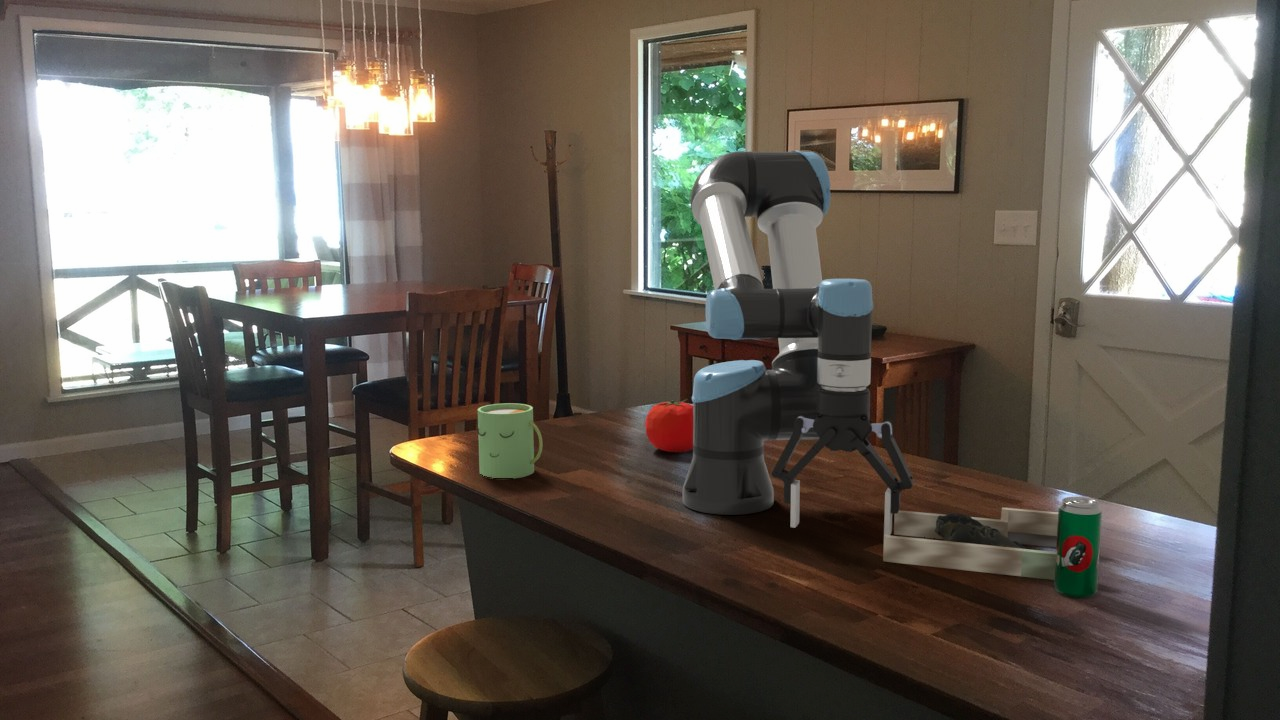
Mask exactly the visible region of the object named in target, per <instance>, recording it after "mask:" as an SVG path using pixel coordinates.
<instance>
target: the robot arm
mask: <svg viewBox="0 0 1280 720" xmlns="http://www.w3.org/2000/svg"><path fill="white" fill-rule="evenodd" d="M691 189H692V190H691V192H690V209H691V213H692V215H693V216H692V217H693V218H694V220H695V222H697V223H698V225H700V227H701V232H702V237H703V242H704V247H705V250H706V256H707V260H708V266H709V269H710V270H709V271H710V274H711V278H712V282H713V289H711V290H710V291H708V292H707V295H706V299H705V324H706V326H705V327H706V331H707V333H708V335H709V337H711V338H713V339H720V340H721V339H725V340H726V339H727V340H729V339H730V340H733V341H737V340H752V339H753V340H755V339H756V340H760V339H762V340H763V339H778V348H779V353H778V354H777V355H776V356H775V357H774V359H773V360H772V361H771V369H767V368H766V366H765V363H764V362H763V361H761V360H755V359H749V360H748V359H747V360H744V359H739V360H732V361H725V362H719V363H718V362H717V363H714V364H711V365H707V366H704V367H703V368H701V369H699V370H698V371H697V372H696V373H695V375H694V378H693V386H692V387H693V388H692V396H691V401H692V402H693V403H692V405H693V449H692V458H691V462H690V463H689V464H690V465H689V468H688V471H687V475H686V477H685V479H684V480H685V481H684V483H683V487H682V492H681V493H682V504H683V505H684V506H685V507H687V508H689V509H690V510H693V511H696V512H700V513H705V514H711V515H725V516H728V515H729V516H734V515H735V516H737V515H741V516H742V515H749V514H756V513H760V512H763V511H765V510H769V509H770V508H772V506H773V505H774V503H775V502H774V500H775V497H774V496H775V492H774V487H773V483H772V480H771V477H772V478H773V479H779V480H781V482H783V501H784V503H785V504H789V505H790V528H793V529H794V528H796V527H798V525H799V524H800V505H801V504H800V499H801V498H800V495H801V494H800V491H801V486H800V484H801V481H800V480H798V479H795V478H796V477H797V476H798V475H799V474H800V473H801V472H802V470H804V469H805V467H806V466H808V465H809V464H810V462H811V461H812V460H813V459H814V458H815V457H816V456H817V455H818V454H819V453H820V452H821V451H822V450H823V448H824V447H826V448H827V449H828V450H829V451H832V452H833V451H834V452H837V451H838V452H839V451H842V452H843V451H844V452H846V453H853V452H855V451H858V453H859V454H860V455H861V456H862V457H864V458H865V460H866V461H867V463H868V464H869V465H870V466H871V468H872V469H873V470H874V471H875V472H876V474H877V475H878V476H879V477H880V478H881V480H882V482H884V483H885V485H886V486H887V489H885V490H886V491H885V492H884V519H883V520H884V523H883V537H884V536H885V535H891V534H892V533H893V532H892V531H893V530H892V529H893V514H894V515H895V514H897V513H898V511H899V510H900V508H901V494H902V493H901V492H902V491H904V490H910V489H912V487H913V485H914V483H915V479H914V477H913V475H912V473H911V471H910V469H909V467H908V465H907V462H906V460H905V458H904V456H903V454H902V452H901V449H900V448H899V446H898V444H897V441H896V439H895V438H894V434H893V424H892V422H891V421H890V420H885V421H884V422H876V423H872V421H871V418H870V417H871V415H870V414H871V413H870V412H871V410H870V409H871V408H870V407H871V391H870V389H869V387H868V386H869V385H871V380H872V379H871V376H872V375H871V369H872V358H871V357H872V331H873V330H872V328H873V310H874V301H873V287H872V284H871V282H870V281H868V279H864V278H863V279H862V278H861V279H860V278H848V277H847V278H827V279H826V278H825V279H823V276H822V275H823V274H822V268H821V259H820V251H819V244H818V235H817V228H818V227H819V226H820V225H821V223H822V222H823V220H824V216H825V215H826V214H827V213H828V212H829V209H830V205H831V201H832V200H831V199H832V196H831V190H830V189H831V179H830V175H829V170H828V167H827V165H826V162H825V161H824V160H823V158H822V156H821V155H819V154H817V153H816V152H814V151H801V150H798V149H794V150H791V151H741V150H740V151H737V150H736V151H732V152H727V153H725V154H723V155H720V156H719V157H717V158H715V159H713V160H712V161H711V162H710V163H708V164H707V165H706V166H705V167H704V168H703V169H702V170H701V171H700V173H699V175H698V176H697V177H696V179H695V181H694V183H693V186H692V188H691ZM746 217H749V218H750V217H752V218H756V220H757V222H756V223H757V227H758V229H759V230H760V231H761V232H762V233H764V234H766V235H767V244H768V252H769V261H770V262H769V263H770V271H771V273H770V274H771V281H772V288H765V287H764V284H763V280H762V276H761V272H760V268H759V265H758V264H759V263H758V262H757V261H758V260H757V258H756V254H755V251H754V247H753V246H754V245H753V242H752V239H751V235H750V232H749V227H748V225H747V221H746ZM872 432H873V433H875V434H876V436H877V438H879V439H881V440H882V443H883V445H884V448H885V450H886V453H887V454H888V456H889V458H890V460H891V463H892V465H893V467H894V470H895V471H896V473H897V475H898V477H899V478H898V477H897V476H896V475H895V474H894V472H893V471H892V470H891V469H890V468H889V466H888V465H887V464H886V462H885V461H884V460H883V459H882V457H881V456H880V455H879V453H878V452H877V451H876V450H875V448H874V447H873V445H872V443H870V441H869V440H868V438H869V436H870V435H871V434H872ZM801 440H817V441H816V442H815V443H814V444H813V445H812V447H810V449H809V450H808V451H806V453H805V454H804V455H803V456H802V457H801V459H799V461H798V462H797V463H796V464H795V465H794V466H793V467H792V468H791V469H790V470H786V467H787V466H788V464H789V462H790V460H791V458H792V457H793V455H794V452H795V451H796V448H797V446H798V445H799V444H800V442H801ZM765 441H787V444H786V445H785V447H784V449H783V451H782V453H781V455H780V456H779V458H778V460H777V461H776V464H775V466H774V468H773V469H772V471H771V477H770V475H769V472H768V471H769V470H768V467H767V464H766V462H765V457H764V455H765V454H764V448H765V447H764V446H765V445H764V444H765ZM891 536H892V535H891Z"/></svg>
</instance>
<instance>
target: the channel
mask: <svg viewBox="0 0 1280 720" xmlns="http://www.w3.org/2000/svg"><path fill="white" fill-rule="evenodd" d="M1000 514H1001V515H1000V519H997V518H987V517H978V516H977V517H974V516H970V517H971V518H972V519H975V520H976V521H978V522H980V523H981V524H982V525H985V526H989V527H991V528H995V529H997V530H998V531H999V532H1000V533H1001V534H1002V535H1003V536H1005V537H1007V538H1008V539H1010V540H1012V541H1017V542H1018V543H1020V544H1021V545H1022V546H1027V547H1029V546H1031V547H1037V548H1048V549H1056V543H1057V524H1058V511H1056V512H1055V511H1045V510H1035V509H1024V508H1013V507H1001V513H1000ZM939 515H941V516H946V515H947V514H943V513H933V512H922V511H921V512H920V511H910V510H900V509H899V511H898V513H897V514H895V513H894V518H893V519H894V520H893V521H894V522H893V523H894V524H893V535H885V536H884V535H883V548H882V549H883V550H882V551H883V556H882V561H883V562H885V563H886V562H887V563H896V564H903V565H914V566H921V567H930V568H931V567H933V568H940V569H951V570H959V571H970V572H979V573H988V574H995V575H996V574H997V575H1007V576H1013V577H1014V576H1016V577H1025V578H1033V579H1041V580H1042V579H1043V580H1051V581H1054V579H1055V561H1056V551H1051V550H1040V549H1039V550H1038V549H1028V548H1025V549H1020V548H1010V547H1000V546H990V545H980V544H970V543H960V542H950V541H945V540H944V539H943V538H942V537H941V536H939V535H938V534H937V533H936V532H935V528H936V521H937V518H938V516H939ZM924 537H925V538H924ZM934 538H935V539H934Z"/></svg>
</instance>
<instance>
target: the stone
mask: <svg viewBox="0 0 1280 720" xmlns="http://www.w3.org/2000/svg"><path fill="white" fill-rule="evenodd" d="M945 515H946V516H941V515H939V516H938V518H937V521H936V528H935V532H936V533H937V534H938V535H939V536H941V537H942V538H943V539H942V540H943V541H950V542H960V543H970V544H980V545H990V546H1000V547H1010V548H1020V549H1026V547H1024V545H1021V544H1020V543H1018V542H1017V541H1012V540H1010V539H1008V538H1007V537H1005V536H1003V535H1002V534H1001V533H1000V532H999V531H998V530H997V529H995V528H991V527H989V526H985V525H982V524H981V523H980V522H978V521H976V520H975V519H972V518H971V517H972V516H968V515H966V514H963V513H962V514H961V513H952V512H950V513H947V514H945Z"/></svg>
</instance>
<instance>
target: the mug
mask: <svg viewBox="0 0 1280 720" xmlns="http://www.w3.org/2000/svg"><path fill="white" fill-rule="evenodd" d="M477 426H478V427H477V434H478V436H477V437H478V464H479V465H478V467H479V475H480V474H482V475H483V476H482V475H481V476H482V477H484V476H487V477H492V478H491V479H493V478H513V479H520V478H524V477H529V476H530V475H532V474H534V473H535V463H536V462H537V461H538V459H540V457H541V454H542V451H543V448H544V447H543V444H544V443H543V442H544V441H543V437H542V434H541V433H542V432H541V431H540V429H539V427H538V426H537V425H536V423H535V422H534V407H533V406H532V405H529V404H525V403H513V402H512V403H511V402H509V403H507V402H506V403H493V404H486V405H483V406H480V407H478V408H477ZM534 431H535V432H536V435H537V437H538V452H537V454H536V456H535V448H534V446H535V445H534V444H535V443H534ZM487 477H486V478H487Z"/></svg>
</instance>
